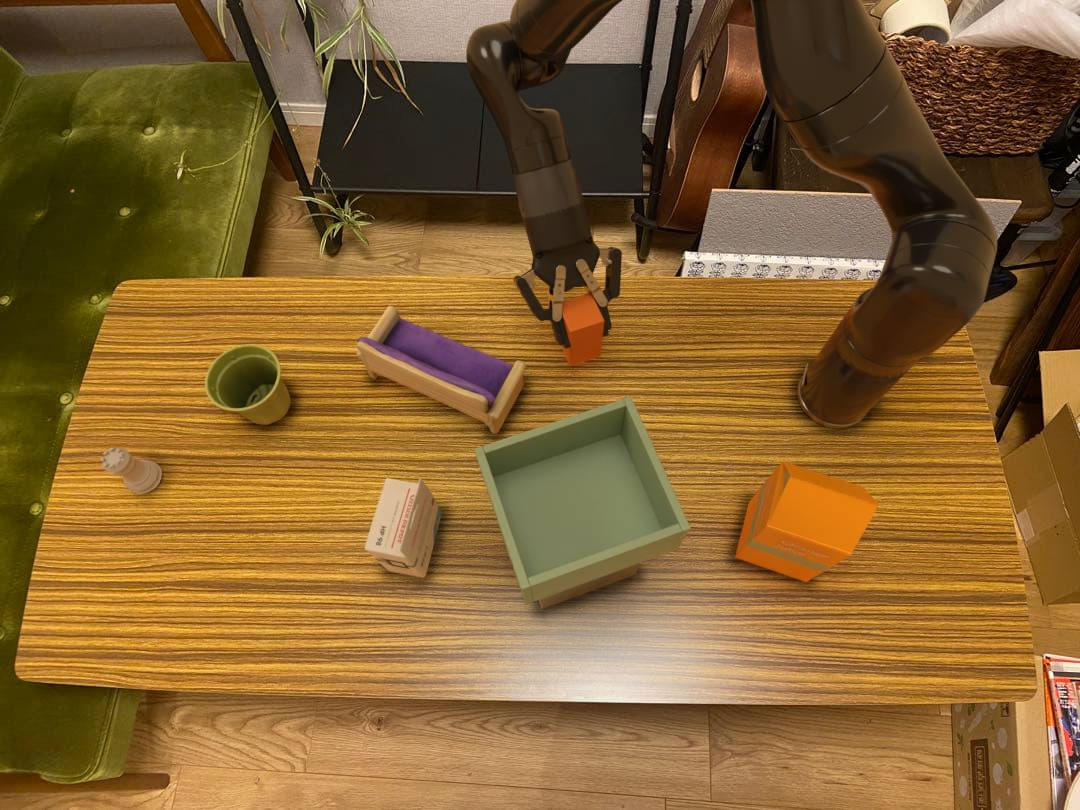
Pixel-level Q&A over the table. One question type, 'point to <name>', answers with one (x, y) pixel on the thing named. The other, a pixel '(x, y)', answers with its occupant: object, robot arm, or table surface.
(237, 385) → the plant pot
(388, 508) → the ink box
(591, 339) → the orange rectangular block
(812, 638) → the table surface
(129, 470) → the rook chess piece
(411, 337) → the toy sofa
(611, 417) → the square open-top tray
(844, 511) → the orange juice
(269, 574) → the table surface
